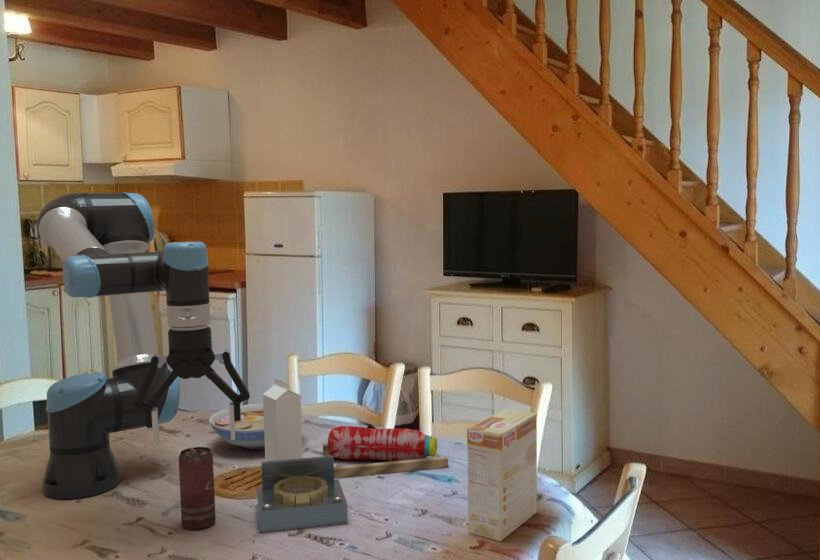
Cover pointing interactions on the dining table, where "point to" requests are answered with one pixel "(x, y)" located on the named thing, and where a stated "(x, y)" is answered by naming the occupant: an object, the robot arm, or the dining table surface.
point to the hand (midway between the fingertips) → (195, 441)
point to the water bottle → (380, 444)
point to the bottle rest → (387, 466)
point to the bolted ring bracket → (300, 495)
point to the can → (197, 488)
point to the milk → (282, 423)
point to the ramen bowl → (242, 426)
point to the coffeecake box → (502, 473)
